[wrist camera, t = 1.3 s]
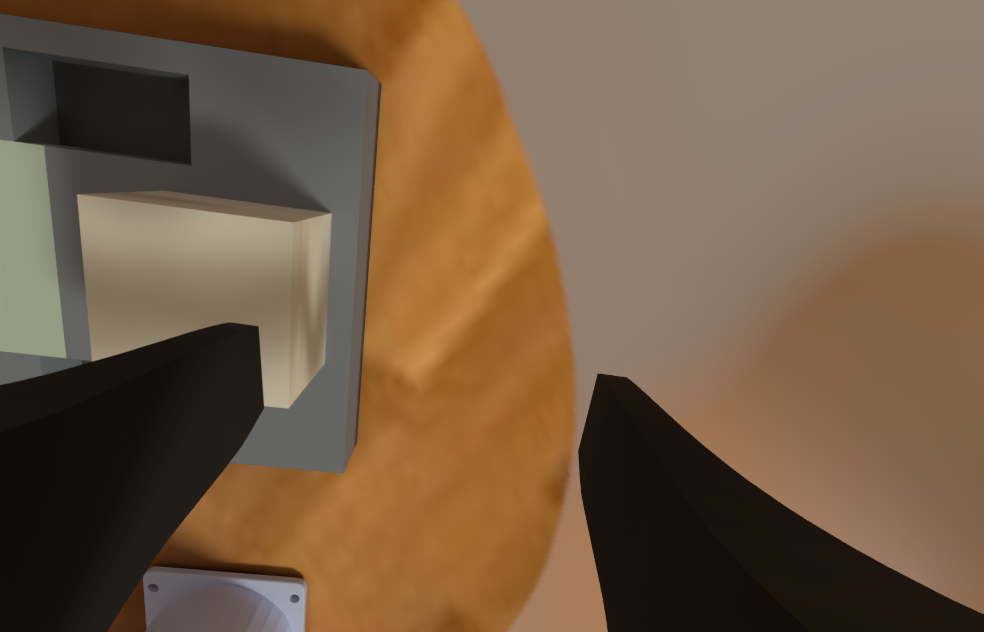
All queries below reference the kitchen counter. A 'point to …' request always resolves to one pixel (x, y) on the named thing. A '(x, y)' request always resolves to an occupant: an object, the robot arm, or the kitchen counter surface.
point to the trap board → (181, 190)
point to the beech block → (208, 277)
